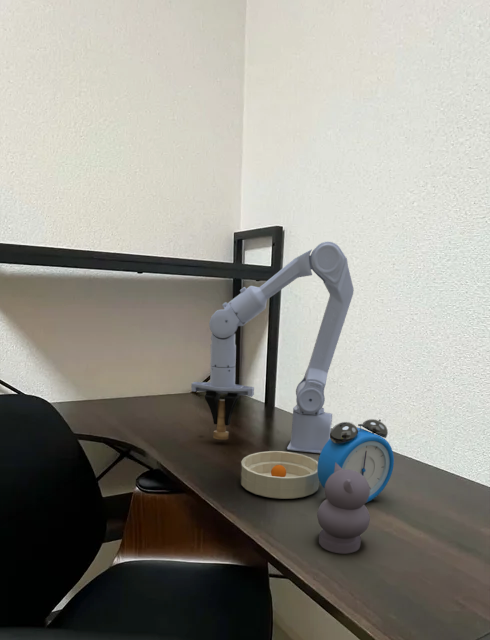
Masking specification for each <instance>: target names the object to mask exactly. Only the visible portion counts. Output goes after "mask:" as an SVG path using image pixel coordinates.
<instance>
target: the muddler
mask: <svg viewBox="0 0 490 640" xmlns="http://www.w3.org/2000/svg"><path fill="white" fill-rule="evenodd" d="M225 413H226V411H225V399H220V400H218V409H217V424H216V430H214V431H213V436H212V437H213V439H215V440H223V441H224V440H229V434H230V432H229V431H228V430H227V425H225Z"/></svg>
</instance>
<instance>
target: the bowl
mask: <svg viewBox="0 0 490 640" xmlns="http://www.w3.org/2000/svg"><path fill="white" fill-rule="evenodd" d="M276 465H282V466H283V467H284V468H285V469H286V476H285V477H276V476H272V475H271V470H272V468H273V467H274V466H276ZM317 466H318V460H316V459H315V458H313V457H310V456H308V455H305V454H302V453H297V452H291V451H281V450H279V451H278V450H269V451H268V450H267V451H258V452H254V453H250V454H248V455H246V456H244V457H243V458H242V460H240V485H241V486H242V487H243V488H244V489H245V490H246V491H248V492H250V493H252V494H254V495H256V496H257V495H258V496H260V497H265V498H271V499H280V500H281V499H283V500H284V499H285V500H288V499H298V498H299V499H300V498H304V497H308V496H311V495H313V494H315V493H316V492H317V491H318V490H319V487H320V481H319V478H318V473H317Z"/></svg>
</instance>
